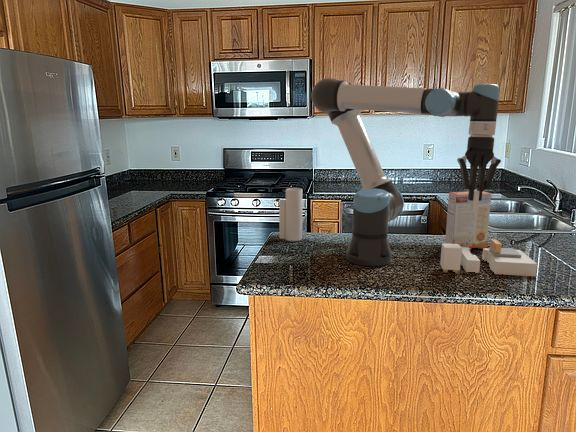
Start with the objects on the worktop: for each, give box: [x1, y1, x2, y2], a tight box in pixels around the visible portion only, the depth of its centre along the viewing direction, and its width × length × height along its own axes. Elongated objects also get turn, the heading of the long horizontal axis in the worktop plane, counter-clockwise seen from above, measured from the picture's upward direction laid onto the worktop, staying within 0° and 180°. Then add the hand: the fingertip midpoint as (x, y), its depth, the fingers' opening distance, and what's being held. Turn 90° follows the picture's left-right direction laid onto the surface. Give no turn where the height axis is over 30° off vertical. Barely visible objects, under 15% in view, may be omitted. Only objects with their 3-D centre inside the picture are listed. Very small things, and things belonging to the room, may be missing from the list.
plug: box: [439, 242, 462, 274], centre depth 135 cm, size 5×5×8 cm
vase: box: [278, 187, 303, 242], centre depth 172 cm, size 11×7×20 cm, turn 40°
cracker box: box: [444, 190, 492, 250], centre depth 160 cm, size 14×6×21 cm, turn 100°
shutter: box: [488, 238, 521, 257], centre depth 141 cm, size 8×8×4 cm
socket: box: [460, 247, 538, 277], centre depth 140 cm, size 20×15×4 cm
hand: (473, 210), depth 140 cm, fingers closed
